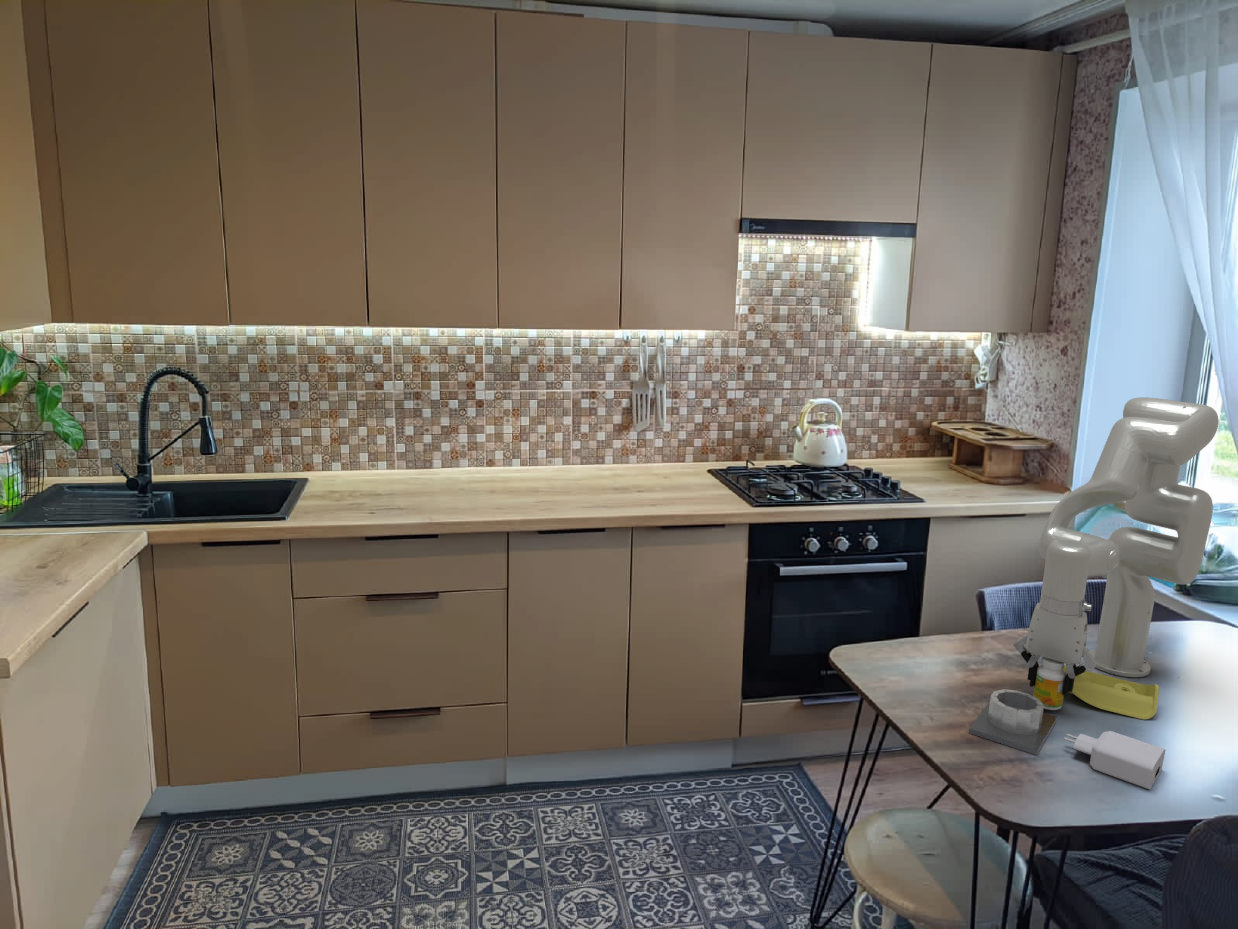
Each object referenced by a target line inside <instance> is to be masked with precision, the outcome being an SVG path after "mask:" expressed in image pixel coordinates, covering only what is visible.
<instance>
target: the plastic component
mask: <svg viewBox="0 0 1238 929" xmlns="http://www.w3.org/2000/svg"><path fill="white" fill-rule="evenodd" d="M1063 670H1064V671H1065V672H1066V675H1067V673H1068V672H1067V668H1066V665H1064V668H1063ZM1159 692H1160V685H1158V684H1144V683H1138V682H1135V681H1131V680H1126V679H1121V678H1117V677H1113V676H1109V675H1104V674H1101V673H1097V672H1092V671H1089V670H1088V671H1085V672H1084V673H1082V674H1080V675H1078V676H1076V677H1075V679H1074V686H1073V691H1072V692H1070V691H1069V693H1068V694H1072V695H1075V697H1077V698H1078V699H1080V700H1081V701H1083V702H1084V703H1087V704H1088V705H1090V706H1093V707H1095V708H1098V709H1100V710H1104V711H1107V712H1113V713H1115V714H1118V715H1123V716H1128V717H1131V718H1136V719H1139V720H1140V719H1141V720H1149V719H1152V718H1153V717H1154V716H1155V715H1156V713H1157V711H1158V704H1159V703H1158V701H1159Z"/></svg>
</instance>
